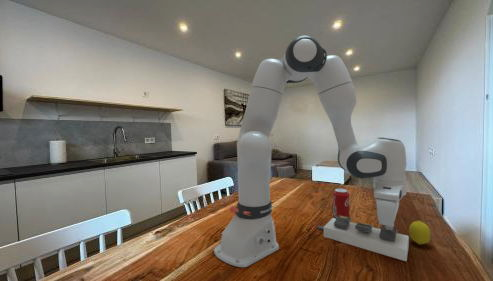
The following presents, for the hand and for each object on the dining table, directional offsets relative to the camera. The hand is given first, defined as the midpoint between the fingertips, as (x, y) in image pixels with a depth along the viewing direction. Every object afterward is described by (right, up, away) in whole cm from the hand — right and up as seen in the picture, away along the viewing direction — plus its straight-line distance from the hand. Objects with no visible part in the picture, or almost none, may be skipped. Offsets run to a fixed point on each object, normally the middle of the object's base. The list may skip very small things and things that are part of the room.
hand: (389, 228), depth 70 cm
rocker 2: (-7, -1, +3) cm, 8 cm away
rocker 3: (-2, -1, -2) cm, 3 cm away
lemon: (+10, -5, 0) cm, 11 cm away
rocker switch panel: (-8, -5, +4) cm, 11 cm away
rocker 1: (-12, -1, +7) cm, 14 cm away
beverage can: (-6, -5, +23) cm, 24 cm away
